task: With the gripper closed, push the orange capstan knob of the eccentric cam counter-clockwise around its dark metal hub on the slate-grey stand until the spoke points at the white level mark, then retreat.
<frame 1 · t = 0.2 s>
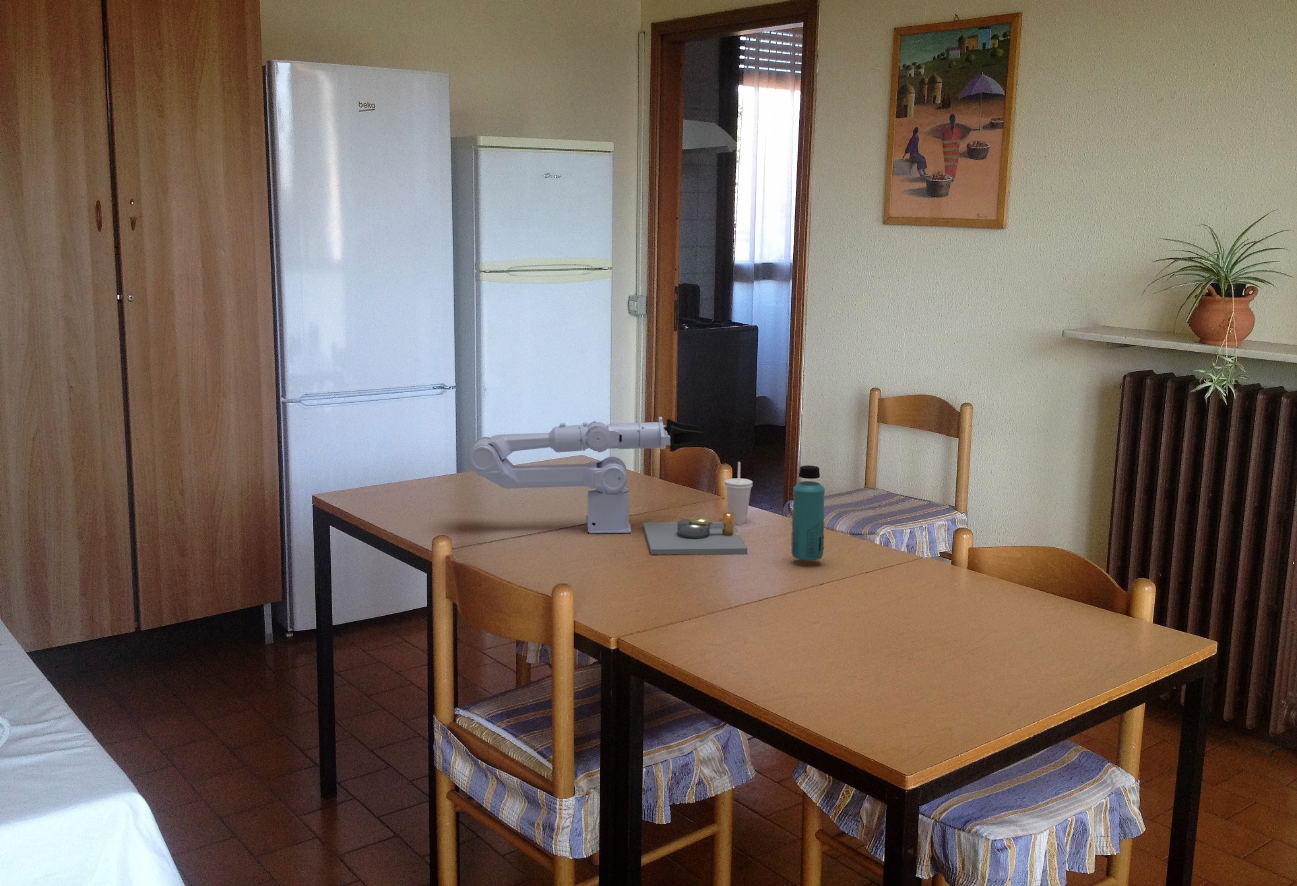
hand: (700, 434, 256), 22 cm above the table, tool horizontal, fingers open, 7 cm apart
beverage bottle: (806, 564, 235), on the table
smoothie: (737, 523, 266), on the table
cam: (705, 523, 250), point 4 cm above the table, hinge at 0.0°
stand: (693, 540, 251), on the table
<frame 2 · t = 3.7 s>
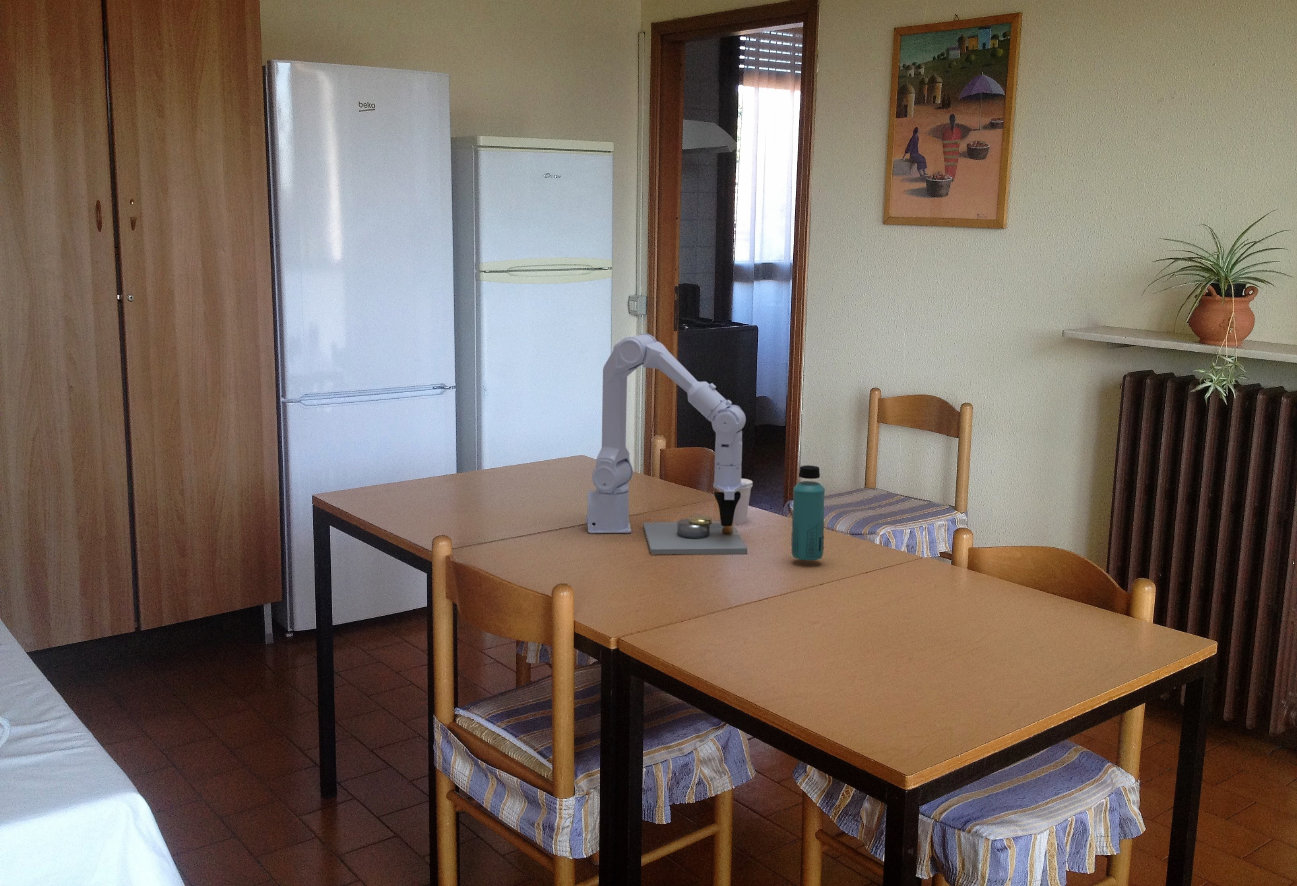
hand: (726, 525, 249), 4 cm above the table, tool pointing down, fingers closed, pressing on cam
cam: (705, 523, 250), point 4 cm above the table, hinge at 3.0°, touching gripper
everything else where it was.
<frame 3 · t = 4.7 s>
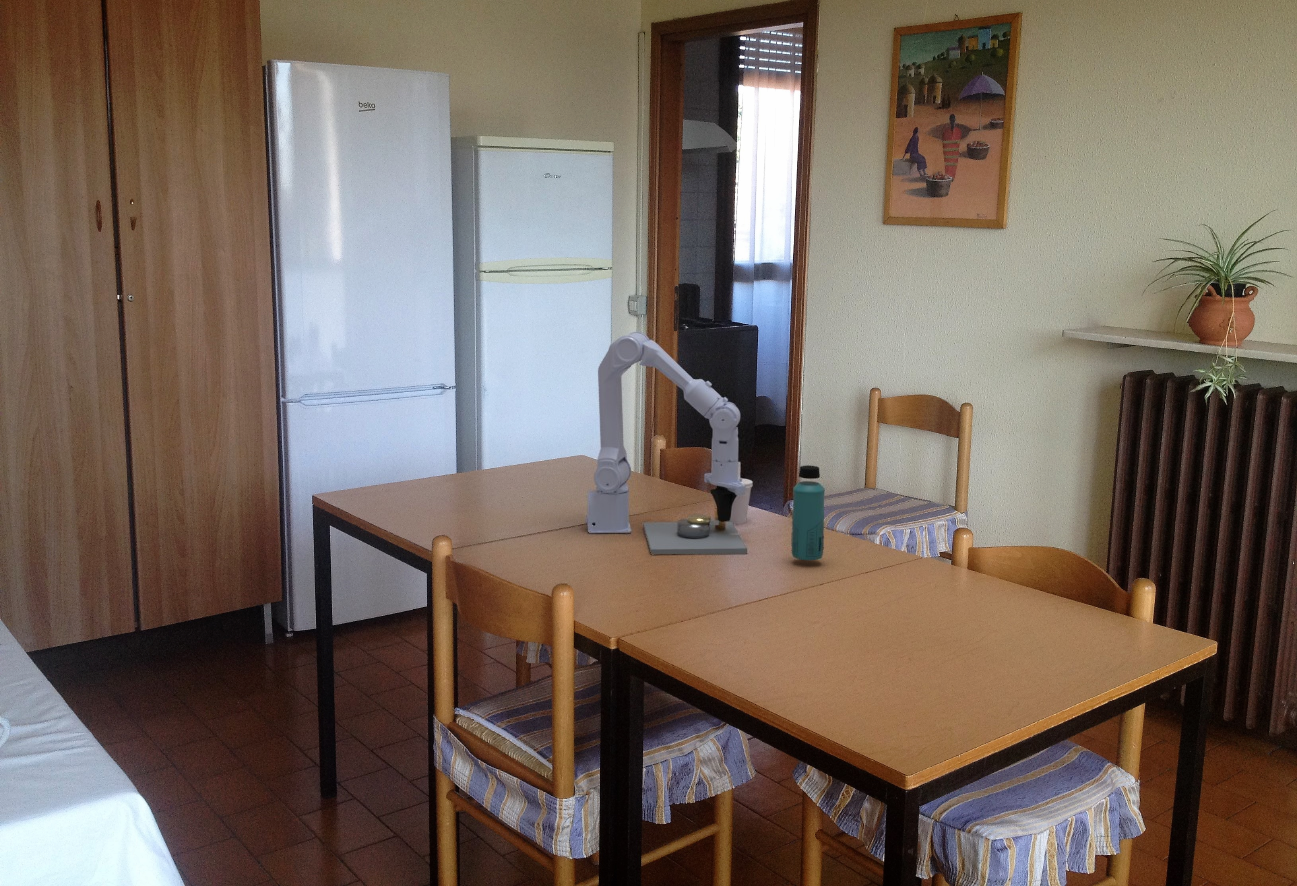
hand: (723, 520, 253), 4 cm above the table, tool pointing down, fingers closed, pressing on cam
cam: (702, 521, 251), point 4 cm above the table, hinge at 31.9°, touching gripper
everything else where it was.
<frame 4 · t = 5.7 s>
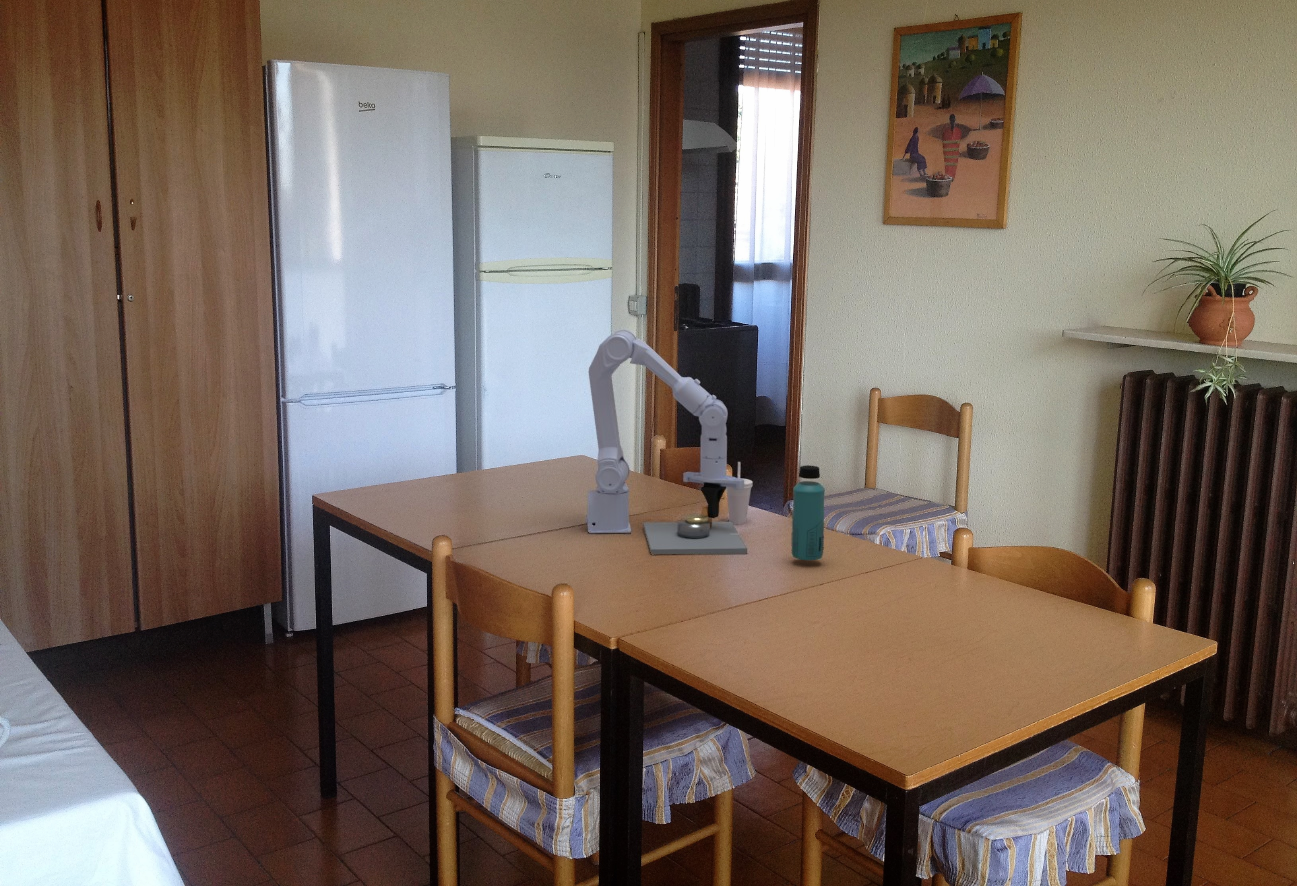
hand: (713, 517, 256), 4 cm above the table, tool pointing down, fingers closed, pressing on cam
cam: (698, 521, 252), point 4 cm above the table, hinge at 60.5°, touching gripper
everything else where it was.
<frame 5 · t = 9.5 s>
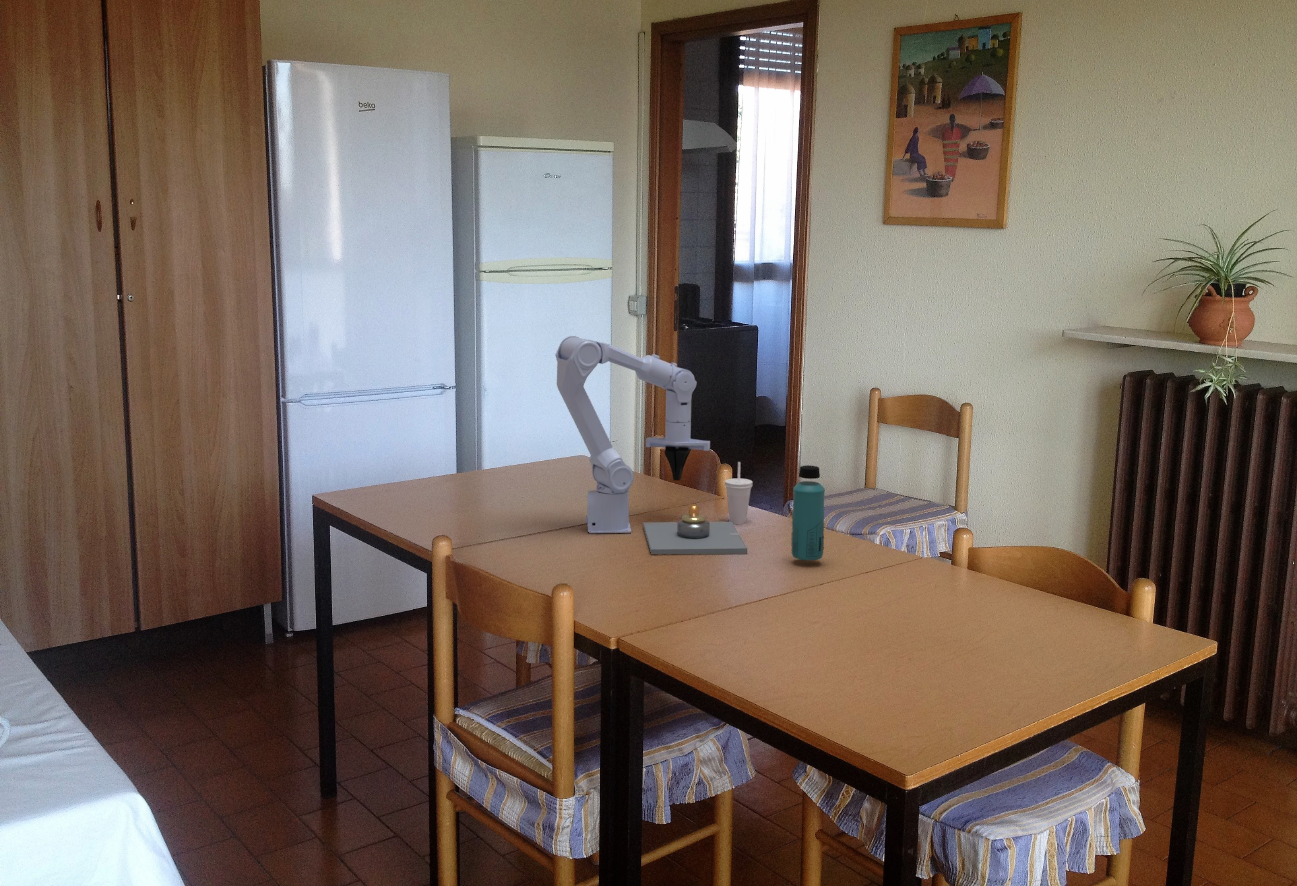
hand: (677, 479, 264), 10 cm above the table, tool pointing down, fingers closed
cam: (693, 520, 252), point 4 cm above the table, hinge at 83.6°
everything else where it was.
at the end: cam at +84° (first picture: +0°); smoothie moved 0.2 cm from its start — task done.
